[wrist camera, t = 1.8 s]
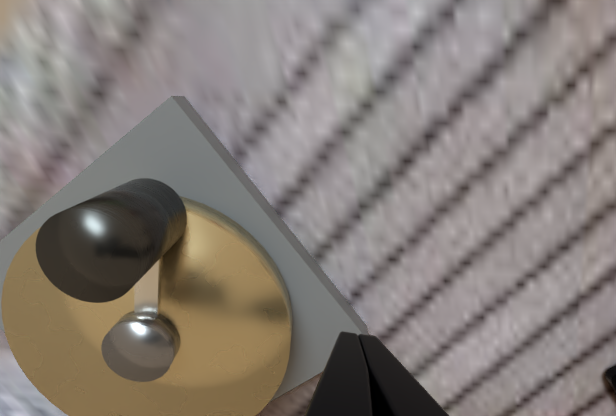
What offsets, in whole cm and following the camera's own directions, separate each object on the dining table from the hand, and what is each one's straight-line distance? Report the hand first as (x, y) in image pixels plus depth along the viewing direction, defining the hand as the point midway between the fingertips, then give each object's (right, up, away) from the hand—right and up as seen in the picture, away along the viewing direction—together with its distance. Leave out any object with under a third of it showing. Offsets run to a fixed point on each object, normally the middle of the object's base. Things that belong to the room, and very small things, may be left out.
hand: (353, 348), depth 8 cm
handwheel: (-8, -2, +9) cm, 12 cm away
